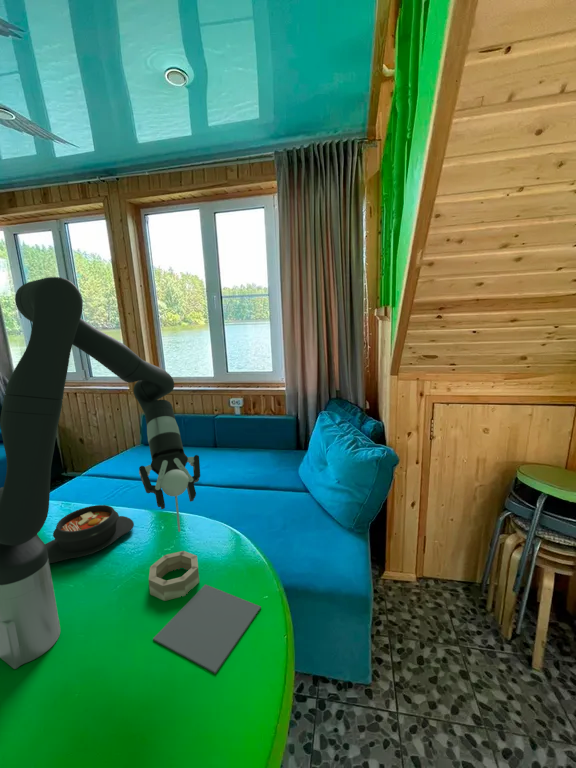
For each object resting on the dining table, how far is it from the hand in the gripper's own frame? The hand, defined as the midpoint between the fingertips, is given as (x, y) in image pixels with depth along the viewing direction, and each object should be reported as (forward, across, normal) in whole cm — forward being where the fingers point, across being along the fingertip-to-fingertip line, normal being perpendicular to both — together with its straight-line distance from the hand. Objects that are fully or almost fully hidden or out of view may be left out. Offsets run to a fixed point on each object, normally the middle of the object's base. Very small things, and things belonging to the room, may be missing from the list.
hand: (178, 503), depth 75 cm
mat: (+24, +3, +10) cm, 26 cm away
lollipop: (+4, 0, +7) cm, 8 cm away
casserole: (-9, -20, +44) cm, 49 cm away
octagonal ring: (+12, -1, +22) cm, 25 cm away
